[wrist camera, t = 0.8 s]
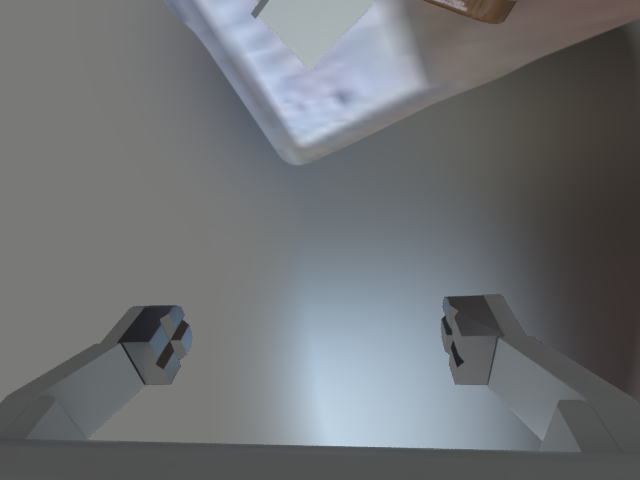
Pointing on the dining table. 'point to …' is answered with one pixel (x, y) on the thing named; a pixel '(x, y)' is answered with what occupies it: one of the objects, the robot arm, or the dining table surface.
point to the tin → (479, 8)
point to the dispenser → (310, 24)
